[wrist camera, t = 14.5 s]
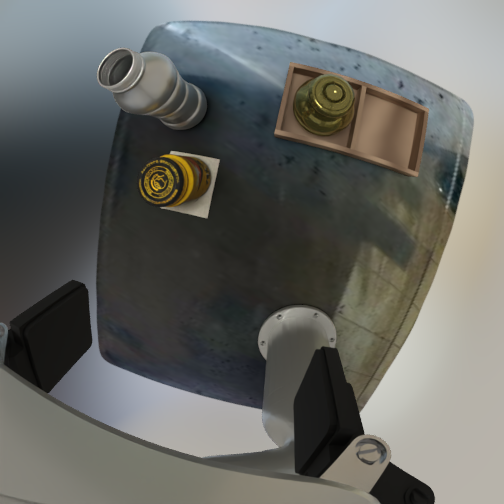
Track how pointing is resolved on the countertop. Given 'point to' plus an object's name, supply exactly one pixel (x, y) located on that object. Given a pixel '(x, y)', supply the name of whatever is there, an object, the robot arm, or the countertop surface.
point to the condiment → (179, 182)
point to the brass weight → (324, 105)
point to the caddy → (363, 124)
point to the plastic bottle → (152, 88)
